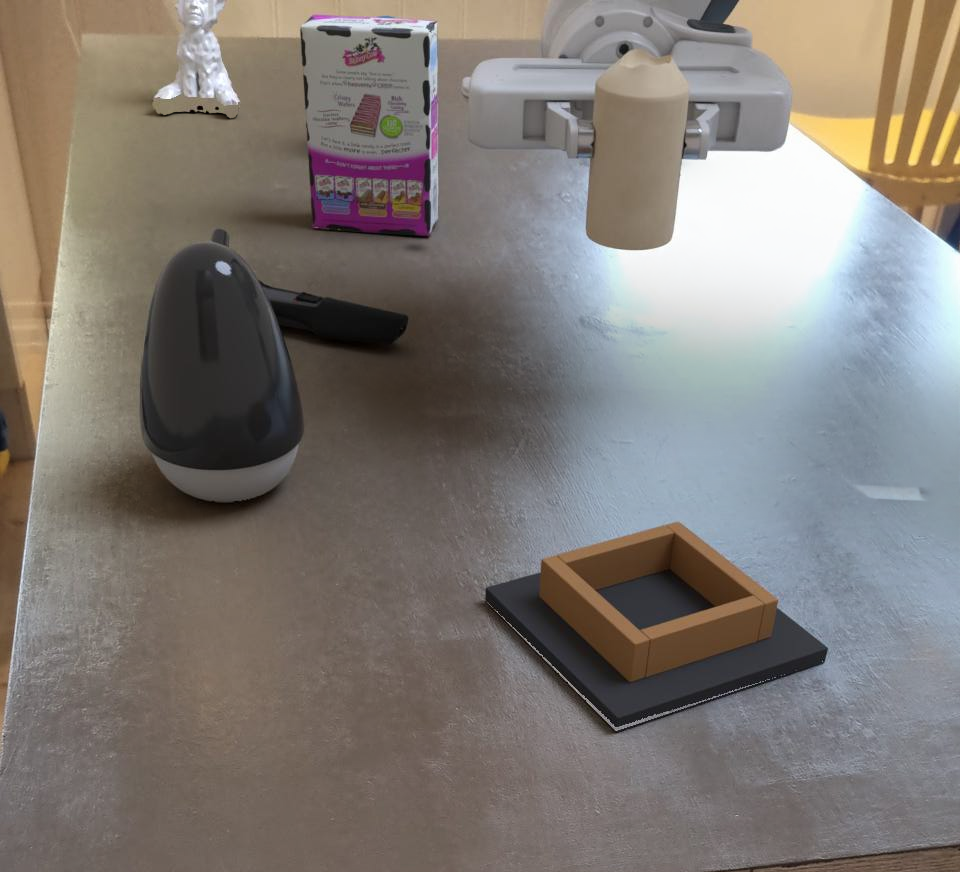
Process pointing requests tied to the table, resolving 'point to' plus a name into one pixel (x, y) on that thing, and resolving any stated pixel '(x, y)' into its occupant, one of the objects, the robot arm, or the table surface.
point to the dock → (653, 623)
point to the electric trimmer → (335, 317)
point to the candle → (636, 152)
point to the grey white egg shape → (217, 378)
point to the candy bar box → (372, 123)
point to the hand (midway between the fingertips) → (639, 145)
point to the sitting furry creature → (200, 55)
